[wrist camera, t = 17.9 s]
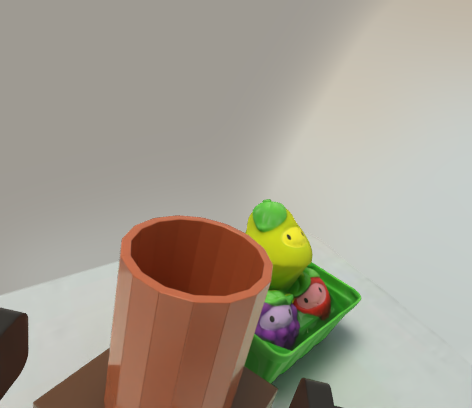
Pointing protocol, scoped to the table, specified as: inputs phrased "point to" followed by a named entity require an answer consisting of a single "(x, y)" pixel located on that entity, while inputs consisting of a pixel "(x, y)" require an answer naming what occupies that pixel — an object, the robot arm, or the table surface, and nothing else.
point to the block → (94, 381)
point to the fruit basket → (292, 294)
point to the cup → (184, 313)
